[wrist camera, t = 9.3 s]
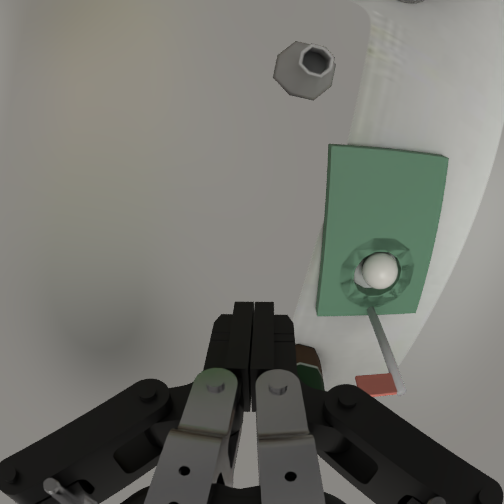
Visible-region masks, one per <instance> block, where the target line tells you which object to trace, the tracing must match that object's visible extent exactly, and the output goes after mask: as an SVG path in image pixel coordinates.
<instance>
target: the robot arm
mask: <svg viewBox="0 0 504 504" xmlns="http://www.w3.org/2000/svg"><path fill="white" fill-rule="evenodd" d="M399 1H402V2H406V3H418V2H422V1H424V0H399ZM251 399H252V412H256V423H257V450H258V470H259V471H258V472H259V486H255V487H249V488H243V489H236V488H233V474H234V468H235V463H236V457H237V451H238V447H239V441H240V436H241V429H242V427H241V426H242V423H243V412H244V411H245V412H250V405H251ZM317 454H318V455H319V456H320V457H321V458H322V459H323V460H325V461H326V462H327V463H328V464H329V465H330V466H331V467H332V468H334V469H335V470H336V471H337V472H338V473H339V474H341V475H342V476H343V477H344V478H345V479H347V480H348V481H349V482H350V483H351V484H352V485H354V486H355V487H356V488H357V489H358V490H360V491H361V492H362V493H363V494H364V495H366V496H367V497H368V498H369V499H371V500H372V501H373V502H374V503H376V504H502V502H503V491H502V488H501V486H500V485H499V483H498V482H496V481H495V480H494V479H492V478H490V477H489V476H487V475H486V474H484V473H483V472H481V471H480V470H478V469H476V468H475V467H473V466H472V465H470V464H469V463H467V462H466V461H464V460H463V459H461V458H460V457H458V456H456V455H455V454H454V453H452V452H451V451H449V450H447V449H446V448H445V447H443V446H442V445H440V444H439V443H437V442H435V441H434V440H433V439H431V438H430V437H428V436H427V435H425V434H424V433H423V432H421V431H420V430H418V429H417V428H415V427H414V426H412V425H411V424H410V423H408V422H407V421H405V420H404V419H402V418H401V417H399V416H398V415H397V414H395V413H394V412H393V411H391V410H390V409H388V408H387V407H386V406H384V405H383V404H381V403H380V402H379V401H377V400H376V399H375V398H373V397H372V396H370V395H369V394H368V393H366V392H365V391H364V390H362V389H361V388H359V387H357V386H354V385H349V384H343V385H338V386H335V387H333V388H331V389H330V390H329V391H328V392H327V391H323V390H318V389H314V388H312V387H309V386H308V385H306V384H305V383H303V382H302V380H301V379H300V378H299V376H298V373H297V361H296V349H295V337H294V325H293V322H292V321H291V319H290V318H289V317H288V315H274V302H255V310H254V302H235V304H234V310H233V314H221V315H220V316H219V317H218V319H217V320H216V321H215V322H214V326H213V329H212V334H211V338H210V343H209V348H208V352H207V356H206V361H205V365H204V370H203V371H202V372H201V373H199V374H198V375H197V377H196V378H195V380H194V382H192V383H190V384H188V385H184V386H179V387H174V388H168V387H167V385H166V384H165V383H163V382H162V381H160V380H157V379H145V380H141V381H139V382H137V383H135V384H133V385H132V386H130V387H129V388H127V389H126V390H124V391H122V392H120V393H119V394H117V395H116V396H114V397H112V398H111V399H109V400H108V401H106V402H104V403H102V404H101V405H99V406H97V407H96V408H94V409H93V410H91V411H89V412H87V413H86V414H84V415H82V416H81V417H79V418H77V419H76V420H74V421H72V422H70V423H69V424H67V425H65V426H64V427H62V428H60V429H58V430H57V431H55V432H53V433H51V434H50V435H48V436H46V437H44V438H43V439H41V440H39V441H37V442H35V443H33V444H32V445H30V446H28V447H26V448H25V449H23V450H21V451H19V452H17V453H15V454H13V455H12V456H10V457H8V458H6V459H4V460H3V461H1V462H0V490H1V491H2V492H4V493H5V494H6V495H7V496H9V497H10V498H12V499H13V500H14V501H15V502H16V503H17V504H99V503H101V502H103V501H104V500H106V499H107V498H109V497H110V496H112V495H114V494H115V493H117V492H118V491H120V490H122V489H123V488H125V487H126V486H128V485H129V484H131V483H132V482H134V481H135V480H136V479H138V478H139V477H141V476H142V475H144V474H145V473H147V472H148V471H150V470H151V469H153V468H154V467H155V466H157V467H156V470H155V473H154V476H153V478H152V481H151V484H150V486H148V487H145V488H143V489H141V490H139V491H138V492H136V493H134V494H133V495H131V496H130V497H129V498H128V499H126V500H125V501H123V502H122V503H120V504H346V503H344V502H343V501H341V500H340V499H338V498H337V497H335V496H333V495H331V494H328V493H326V492H323V486H322V480H321V474H320V468H319V463H318V456H317Z"/></svg>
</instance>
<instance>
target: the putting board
mask: <svg viewBox="0 0 504 504" xmlns="http://www.w3.org/2000/svg"><path fill="white" fill-rule="evenodd" d="M448 159H449V158H447V157H445V156H442V155H437V154H430V153H423V152H415V151H407V150H398V149H389V148H379V147H367V146H354V145H339V144H329V145H328V169H327V189H326V203H325V217H324V230H323V242H322V254H321V264H320V274H319V284H318V293H317V302H316V312H317V316H355V315H368V316H369V318H370V321H371V324H372V326H373V329H374V331H375V334H376V337H377V340H378V342H379V345H380V348H381V351H382V353H383V356H384V359H385V362H386V365H387V367H388V370H389V373H387V374H376V375H363V376H356V377H355V379H356V384H357V387H359V388H361V389H362V390H364V391H365V392H366V393H368V394H369V395H370V396H372V397H375V396H385V395H394V394H397V395H398V396H401V395H403V394H405V393H406V388H405V385H404V383H403V380H402V377H401V374H400V372H399V369H398V366H397V364H396V361H395V358H394V356H393V353H392V351H391V348H390V346H389V343H388V341H387V338H386V336H385V333H384V331H383V328H382V326H381V323H380V321H379V318H378V316H377V315H384V314H405V313H416V310H417V307H418V304H419V300H420V297H421V293H422V290H423V286H424V283H425V279H426V275H427V271H428V268H429V264H430V260H431V255H432V251H433V247H434V242H435V238H436V233H437V228H438V223H439V218H440V213H441V207H442V201H443V195H444V189H445V182H446V175H447V168H448ZM375 252H389V253H391V254H392V255H394V256H395V258H396V261H397V267H398V274H397V278H396V280H395V281H394V283H393V284H392V285H391V286H389V287H387V288H385V289H375V288H363V287H361V286H359V285H358V284H356V283H355V282H354V280H353V279H354V273H355V268H356V267H357V266H358V265H359V263H360V262H361V261H362V259H363V258H365V257H367V256H369V255H371V254H373V253H375Z"/></svg>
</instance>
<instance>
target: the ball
mask: <svg viewBox="0 0 504 504" xmlns="http://www.w3.org/2000/svg"><path fill="white" fill-rule="evenodd" d="M362 272H363V277H364V280H365V281H366V283H367V284H368V285H369V286H371V287H373V288H375V289H385V288H387V287H389V286H391V285H392V284H393V283H394V281H395V280H396V278H397V274H398V267H397V263H396V261H395V260H394V258H393V257H392V256H390V255H389V254H386V253H383V252H378V253H374V254H372V255H370V256H369V257H368V258H367V259H366V261H365V262H364V265H363V270H362Z"/></svg>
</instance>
